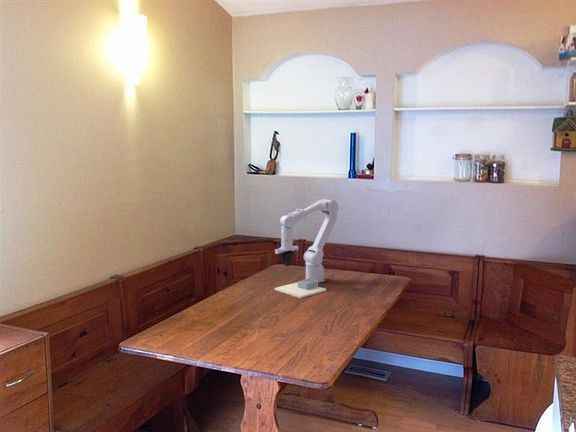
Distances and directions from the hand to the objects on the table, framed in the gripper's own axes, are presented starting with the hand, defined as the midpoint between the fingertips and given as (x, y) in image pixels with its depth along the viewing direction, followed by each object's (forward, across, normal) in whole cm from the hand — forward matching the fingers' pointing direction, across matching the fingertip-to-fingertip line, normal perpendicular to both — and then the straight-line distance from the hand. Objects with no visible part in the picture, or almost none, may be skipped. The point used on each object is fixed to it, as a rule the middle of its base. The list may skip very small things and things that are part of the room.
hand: (286, 265), depth 267 cm
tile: (+10, +2, +12) cm, 16 cm away
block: (+7, +2, +13) cm, 15 cm away
